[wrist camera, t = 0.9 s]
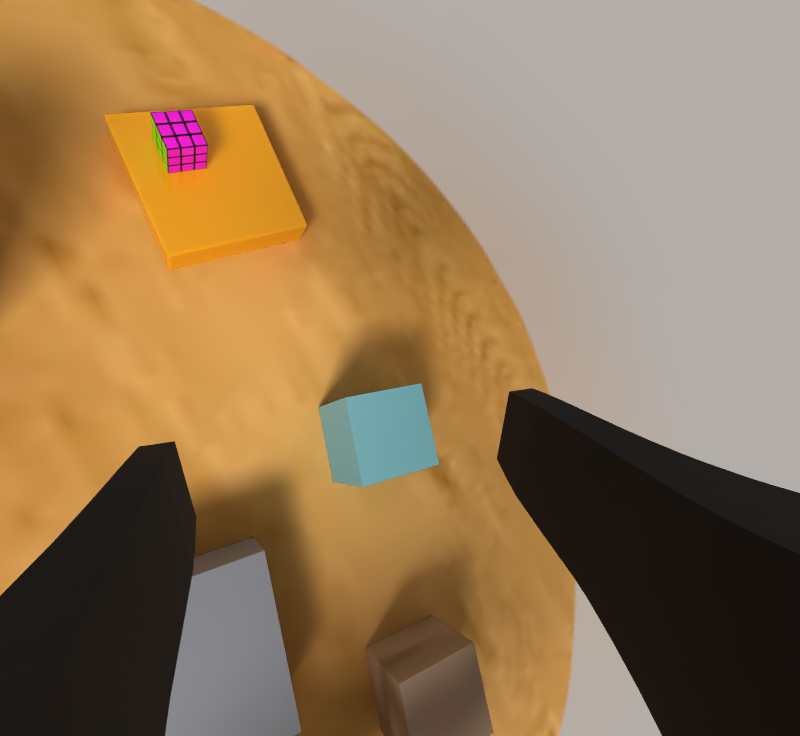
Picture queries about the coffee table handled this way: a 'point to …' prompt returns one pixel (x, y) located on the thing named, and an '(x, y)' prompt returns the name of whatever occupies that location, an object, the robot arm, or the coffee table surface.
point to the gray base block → (232, 651)
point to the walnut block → (428, 682)
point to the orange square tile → (206, 181)
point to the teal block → (378, 436)
